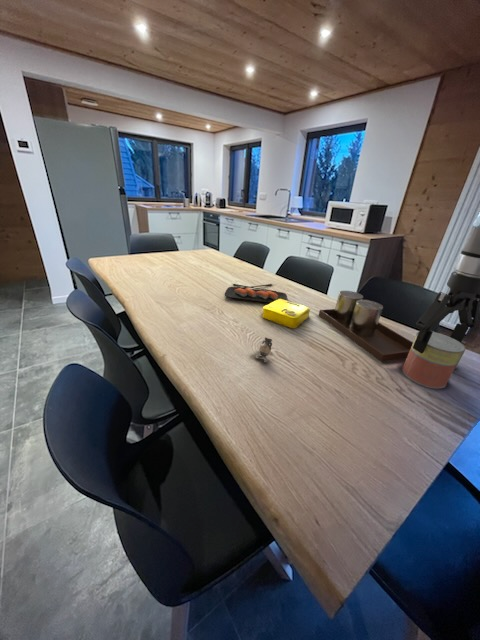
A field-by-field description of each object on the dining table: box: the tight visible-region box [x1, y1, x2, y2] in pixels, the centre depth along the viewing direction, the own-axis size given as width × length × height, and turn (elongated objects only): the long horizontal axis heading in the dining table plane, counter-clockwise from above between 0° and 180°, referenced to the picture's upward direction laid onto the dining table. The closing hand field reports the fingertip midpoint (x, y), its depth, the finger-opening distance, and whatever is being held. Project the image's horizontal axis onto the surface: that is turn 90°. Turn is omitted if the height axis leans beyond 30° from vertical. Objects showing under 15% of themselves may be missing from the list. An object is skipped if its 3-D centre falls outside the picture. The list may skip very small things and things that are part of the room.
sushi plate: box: [224, 283, 288, 304], centre depth 131 cm, size 29×30×4 cm
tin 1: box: [333, 290, 364, 325], centre depth 106 cm, size 9×9×11 cm
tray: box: [318, 308, 414, 363], centre depth 98 cm, size 34×17×3 cm, turn 18°
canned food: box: [401, 331, 466, 390], centre depth 75 cm, size 11×11×12 cm
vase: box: [252, 337, 273, 363], centre depth 79 cm, size 5×5×6 cm
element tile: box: [261, 299, 311, 329], centre depth 107 cm, size 15×15×5 cm
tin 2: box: [349, 299, 384, 337], centre depth 97 cm, size 9×9×11 cm
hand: (435, 348), depth 74 cm, fingers open, 13 cm apart
